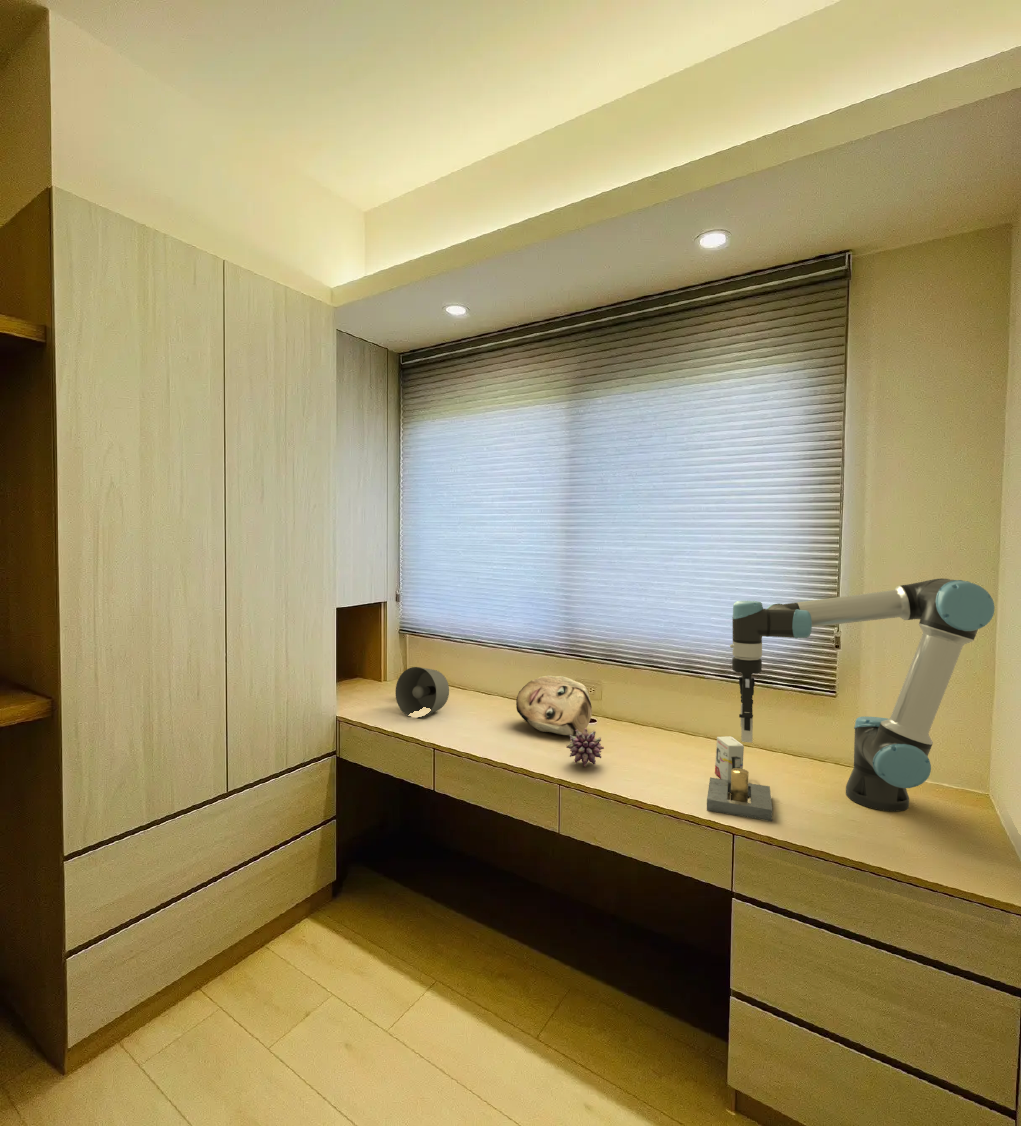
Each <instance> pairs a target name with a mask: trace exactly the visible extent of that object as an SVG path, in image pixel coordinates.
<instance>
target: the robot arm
mask: <svg viewBox="0 0 1021 1126" xmlns="http://www.w3.org/2000/svg"><path fill="white" fill-rule="evenodd" d="M994 615H995V602H994V600H993V597H992V596H991V594H990V593H989V592H988V591H987V590H986V589H985V588H984V587H982V586H980V585H979V584H977V583H974V582H971V581H968V580H967V581H966V580H962V579H950V578H934V579H927V580H923V581H919V582H914V583H910V584H908V583H907V584H902V585H897V586H895V588H894V589H892V590H885V591H883V590H882V591H877V592H868V593H861V594H860V593H859V594H851V595H845V596H837V597H830V598H821V599H813V600H806V601H805V600H804V601H798V602H791V603H784V604H783V603H772V604H771V605H769V606H767V608H764V607H763V603H762V602H761V601H758V600H756V601H755V600H737V601H735V602H734V603H733V607H732V619H731V620H732V644H730V645H729V647H730V648H731V649H732V656H733V657H732V659H731V661H732V662H731V667H732V668H731V670H732V671H733V672H735V673H738V674H741V676H739V677H738V684H739V685H738V686H739V691H740V692H739V693H740V714H739V716H738V717H739V718H740V727H741V734H740V735H741V736H740V737H741V738H740V741H741V742H743V743H750V744H751V743H753V735H754V734H753V723H754V722H753V719H754V714H753V711H754V710H753V705H754V699H753V696H754V693H755V691H754V689H755V685H756V682H755V678H754V677H752V675H753V674H754V675H757V674H760V673H762V672H763V671H762V669H763V666H762V665H763V663H762V662H763V661H762V657H763V637H767V638H769V637H770V638H771V637H772V638H789V639H790V638H793V639H801V638H803V639H804V638H805V639H807V638H809V637H810V636H811V634H812V629H813V628H815V627H823V626H824V627H825V626H833V625H842V624H843V625H844V624H850V623H851V624H853V623H859V622H860V623H861V622H868V621H877V620H878V621H880V620H886V619H897V618H900V619H902V620H904V621H910V620H911V621H912V620H913V621H914V620H919V622H918V625H919V627H920V629H921V631H922V635H921V638H920V640H919V642H918V645H917V648H916V651H915V652H914V655H913V658H912V660H911V663H910V665H909V668H908V670H907V673H906V677H905V678H904V681H903V683H902V686H901V689H900V692H899V694H898V697H897V699H896V703H894V704H895V705H894V707H893V710H892V712H891V715H890V717H889V718H887V717H878V716H859V717H857V718H856V719H855V723H854V724H855V725H854V727H853V730H854V741H853V742H854V746H853V750H854V751H853V753H854V754H853V769H852V771H851V774H850V775H849V778H848V780H847V782H846V784H845V796H846V797H847V798H848V799H850V800H851V801H852V802H854V803H856V804H858V805H861V806H864V807H867V808H870V809H873V810H879V811H887V812H903V811H907V810H908V809H909V808H910V797H909V794H908V790H907V789H912V788H915V787H919V786H921V785H923V784H924V783H925V782H926V781H927V780H928V779H929V777H930V775H931V772H932V771H931V770H932V765H931V761H930V759H929V754H930V752H931V749H932V746H933V744H934V742H933V740H932V738H931V737H930V734H929V733H930V731H931V728H932V725H933V723H934V721H935V719H936V715H937V713H938V710H939V708H940V705H941V703H942V701H943V698H944V696H945V692H946V689H947V688H948V686H949V683H950V681H951V680H950V679H951V677H952V675H953V673H954V670H955V667H956V666H957V662H958V660H959V657H960V655H961V652H962V650H963V647H964V646H965V645H967V644H971V643H972V642H974V641H975V638H976V636H977V634H978V630H980V629H982V628H983V627H986V626H987V625H988V624H989V623H990V622H991V620H992V619H993V617H994ZM741 742H740V743H741Z"/></svg>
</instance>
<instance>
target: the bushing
mask: <svg viewBox="0 0 1021 1126" xmlns="http://www.w3.org/2000/svg"><path fill="white" fill-rule="evenodd" d="M749 774H750V773H749V770H747V769H745V768H743V769H741V768H733V769H732V770H731V793H730V800H733V801H739V802H745V803H749V801H748V800H749V796H748V783H749Z"/></svg>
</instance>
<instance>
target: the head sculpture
mask: <svg viewBox="0 0 1021 1126" xmlns="http://www.w3.org/2000/svg"><path fill="white" fill-rule="evenodd" d="M515 701H516V703H515V704H516V705H515V706H516V707H515V708H516V711H517V713H518V715H519V716H520V717H521V718H522V719H523V721H525V722H526V724H528V725H530V726H531V727H532V728H534V729H536V730H538V731H539V732H542V733H548V732H549V733H553V734H556V735H559V736H560V735H561V736H570V735H571V736H576V731H575V730H578V731H579V732H581V733H582V734H583V732H584V730H585V728H587V729H588V726H589V725H590V721H591V719H592V715H593V709H592V701H591V696H590V694H589V690H588V689H587V687H586V686H585V685H584V684H583V683H581V682H578V681H577V680H576V681H575V680H574V679H572V678H569V677H566V676H564V675H563V676H562V675H559V676H553V675H550V674H549V675H545V676H544V675H541V676H539V677H536V678H534V679H532V680H530V681H528V682H527V683H526V684H525V685H524V686H523V687H522V688H521V689H520V690H519V691H518V694H517V696H516V700H515Z"/></svg>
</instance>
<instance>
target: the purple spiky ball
mask: <svg viewBox="0 0 1021 1126" xmlns="http://www.w3.org/2000/svg"><path fill="white" fill-rule="evenodd" d="M575 731H576V735H572V736H571V735H569V740H570V742H569V744H566V749H570V750H569V752H570V754H569V757H570V758H571V757H574V759H573V760H574V764H577V763H578V762H579V761H581V763H582V766H583V767H584V768H585V767H587V764H588V763H592V764H593V765H596V758H600V759H602V755H601V754H602V753H601V752H602V750H604V749H605V747H604V746H603V745H601V742H602V737H601V736H600V737H596V730H593V731H592V732H590V733H589V732H588V727H587V728H585V730H584V732H583V733H581V732H579V731H578V730H575Z"/></svg>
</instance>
